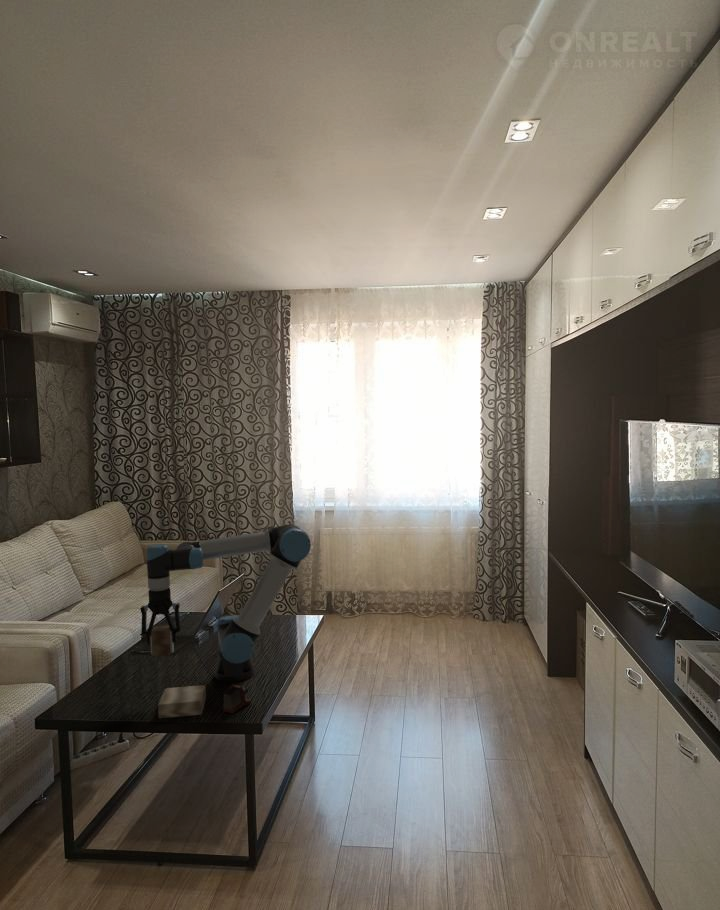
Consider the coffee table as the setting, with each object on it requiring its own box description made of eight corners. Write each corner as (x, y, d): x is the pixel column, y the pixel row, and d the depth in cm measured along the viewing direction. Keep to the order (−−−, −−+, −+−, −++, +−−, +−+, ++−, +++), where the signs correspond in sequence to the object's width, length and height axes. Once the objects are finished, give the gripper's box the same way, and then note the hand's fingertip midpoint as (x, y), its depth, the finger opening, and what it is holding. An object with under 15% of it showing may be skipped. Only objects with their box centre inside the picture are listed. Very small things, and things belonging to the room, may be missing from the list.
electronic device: (251, 703, 224) (250, 682, 223) (232, 714, 215) (231, 692, 215) (242, 701, 226) (241, 680, 226) (222, 712, 218) (221, 690, 217)
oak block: (206, 698, 230) (205, 685, 230) (201, 715, 216) (200, 701, 216) (166, 702, 229) (165, 688, 228) (158, 719, 215) (158, 704, 214)
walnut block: (172, 649, 234) (171, 625, 234) (170, 655, 228) (168, 630, 228) (155, 650, 233) (154, 626, 233) (152, 656, 227) (151, 631, 227)
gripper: (187, 584, 235) (191, 646, 236) (134, 587, 232) (137, 650, 233) (185, 589, 227) (188, 653, 228) (129, 592, 225) (132, 657, 226)
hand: (162, 651), depth 231 cm, fingers closed on walnut block, 6 cm apart
